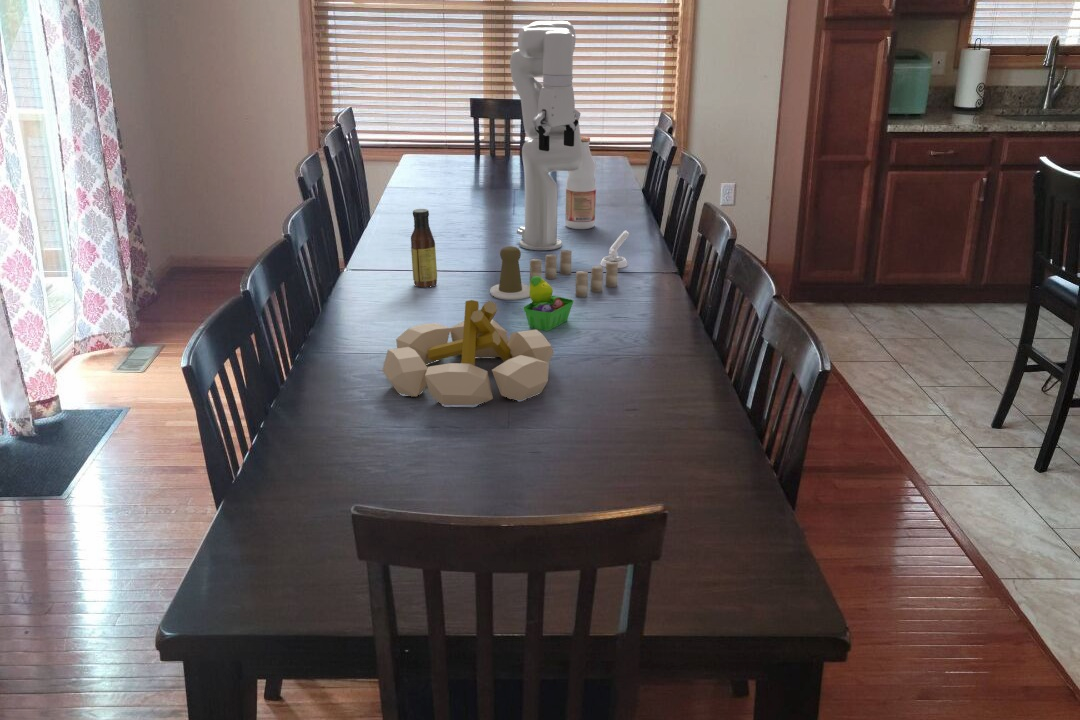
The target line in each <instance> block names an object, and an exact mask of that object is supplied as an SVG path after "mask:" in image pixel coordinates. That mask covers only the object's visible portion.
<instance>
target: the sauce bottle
mask: <svg viewBox="0 0 1080 720" xmlns="http://www.w3.org/2000/svg"><path fill="white" fill-rule="evenodd" d="M429 212H430V211H429V209H427V208H415V209H413V210H412V216H413V227H414V228H413V231H412V234H411V236H410V243H411V244H410V253H411V263H412V264H411V265H412V278H413V279H412V280H413V284H415V285H416V286H415V285H414V286H415V287H418V286H420V287H419V288H421V287H428V288H431V287H430V286H433V287H435V286H436V285H437V283H438V267H437V255H436V253H437V252H436V242H435V239H434V236H433V233H432V230H431V227H430V222H429V217H430V213H429ZM434 285H435V286H434Z"/></svg>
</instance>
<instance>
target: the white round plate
mask: <svg viewBox="0 0 1080 720" xmlns="http://www.w3.org/2000/svg"><path fill="white" fill-rule="evenodd" d="M489 291H490V293H491V294H490V295H491V297H493V296H494V297H493V298H496V299H500V300H505V301H506V300H507V301H508V300H509V301H510V300H511V301H512V300H513V301H518V300H525V299H529V298H530V294H529V291H530V284H526V283H522V291H520V292H515V293H506V292H501V291H500V290H499V283H497V284H495V285H493V286H491V287H490V290H489Z"/></svg>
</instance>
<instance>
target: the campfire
mask: <svg viewBox="0 0 1080 720" xmlns="http://www.w3.org/2000/svg"><path fill="white" fill-rule="evenodd" d="M464 304H465V305H464V307H465V308H464V320H463V321H461V322H459V323H457V324H455V325H452V326H451V327H448V326H445V325H443V324H440V323H439V322H435V323H422V324H418V325H415V326H412V327H409V328H407V329H406V330H404V332H402V333H401V334H400V335H399V336H398V337H397V338H395V340H396V348H390V349H387V352H386V356H385V359H384V363H383V366H382V373H383V374H384V375H385V377H386V378H387V380H388V381H389V382H390V384H391V385H392V387H393V388H394V390H395V392H397V394H398V393H401V394H405V395H408V396H411V397H418V395H419V396H421V395H420V393H421V392H422V391H423V390H424V391H425V389H426V387H427V389H428V394H429V395H430V396H431V397H432V398H433V399H434V400H435V401H436V402H437V401H438V402H439V403H441V404H444V405H475V404H479V403H482V402H485V403H487V402H490V401H491V400H493V399H494V396H493V393H492V387H491V383H490V377H489V372H488V370H485V369H484V368H481V367H478V366H476V358H475V357H500V359H501V360H502V361H503V362H502V363H501V364H499V365H497V366H496V367H494V368H493V369H491V372H492V374H493V377H494V380H495V383H496V385H497V387H498V390H499V394H500V395H501V396H503V397H504V398H506V397H507V399H509V400H511V399H517V400H523V399H525V398H528V397H531V396H533V395H536V394H538V393H541V394H542V392H543V390H544V388H545V387H546V385H547V383H548V381H549V370H550V369H549V367H550V361H551V359H552V357H553V355H554V353H555V351H554V348H553V347H552V344H551V343H550V342H549V340H547V338H546V337H545V335H544V334H543V333H541V332H540V331H539V329H529V330H524V331H523V330H522V331H515V332H510V335H509V334H508V331H506V330H505V328H503V327H502V326H501V325H500V324H499V323H497V322H496V321H495V320H494V317H495V315H496V314H497V312H498V307H497V304H496V302H493V301H490V300H488V301H487V302H486V303H484V304H483V305H482V307H481V309H480V308H479V307H480V306H479V305H480V304H479V301H477V300H473V299H469V300H466V301H465V303H464ZM449 336H450V337H451V341H450V342H448V341H449V338H450V337H449ZM455 356H461V361H460V363H457V362H455V363H454V362H453V363H452V362H450V363H443V364H438V365H437V364H436V365H431V366H428V365H427V366H426V364H428V363H431V362H434V361H436V360H440V359H441V360H442V359H443V360H444V359H447V358H451V357H455ZM441 360H440V361H441ZM438 402H437V403H438ZM439 403H438V404H439Z"/></svg>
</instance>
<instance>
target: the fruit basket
mask: <svg viewBox="0 0 1080 720" xmlns="http://www.w3.org/2000/svg"><path fill="white" fill-rule="evenodd" d="M529 286H530V291H529V294H530V297H529V298H530V300H531V302H530V303H528V304H525V305H524V306H523V311H524V312H525V316H526V319H527V323H528V326H529V328H531V329H534V330H536V329H537V330H538V331H539V330H540V331H546V332H550V331H551V330H553V329H554V328H556V327H557V326H560V325H562V324H563V323H566V322H567V321H568V319H569V316H570V312H571V308H572V306H573V304H574V300H573V299H571V298H566V297H561V296H558V295H557V296H556V295H553V293H554V290H553V287H552V286H551V284H549V283H548V282H547V281H546V280H544V278H542V276H541V277H539V276H534V277H533V278H531V280H530V279H529Z"/></svg>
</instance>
